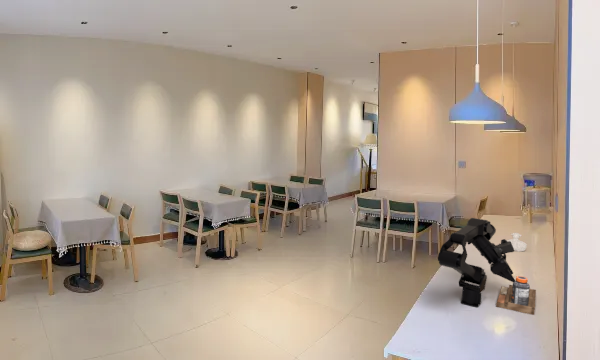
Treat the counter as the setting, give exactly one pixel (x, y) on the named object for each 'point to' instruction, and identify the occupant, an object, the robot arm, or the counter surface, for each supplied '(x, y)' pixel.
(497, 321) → the counter surface
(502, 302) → the socket frame
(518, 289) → the pill bottle
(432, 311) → the counter surface
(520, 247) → the white tied bag
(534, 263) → the counter surface
